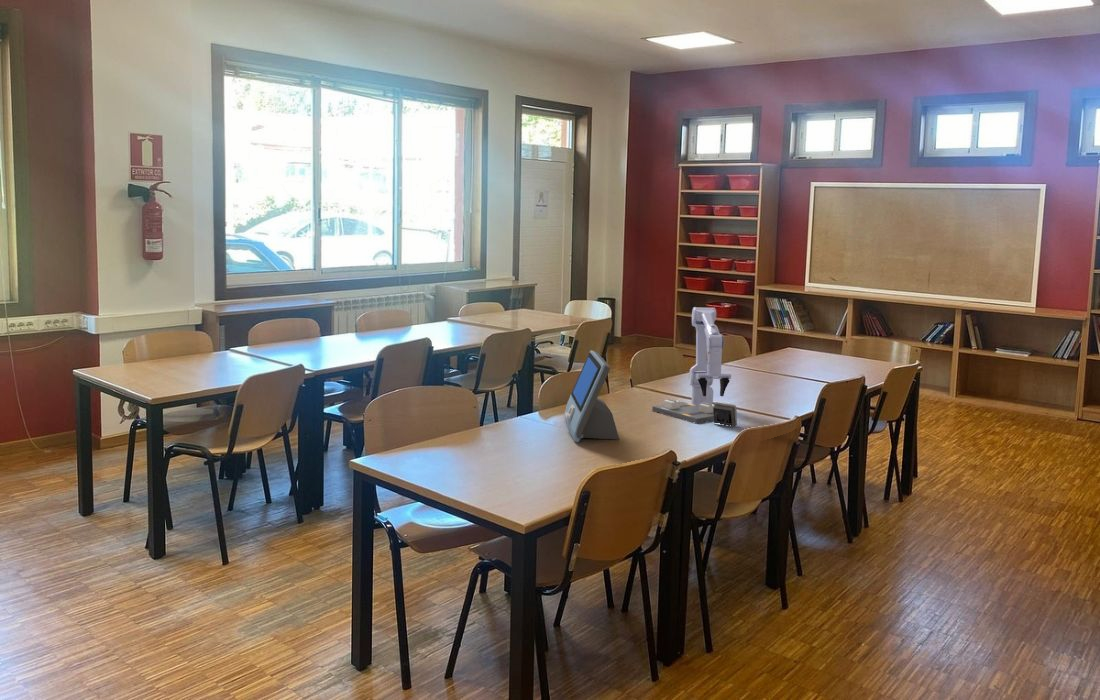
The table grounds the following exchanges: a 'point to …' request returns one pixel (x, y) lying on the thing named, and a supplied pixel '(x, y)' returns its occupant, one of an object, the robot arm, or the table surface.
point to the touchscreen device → (590, 403)
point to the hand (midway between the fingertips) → (713, 396)
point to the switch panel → (685, 412)
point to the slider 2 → (706, 407)
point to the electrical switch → (725, 413)
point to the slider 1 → (671, 404)
